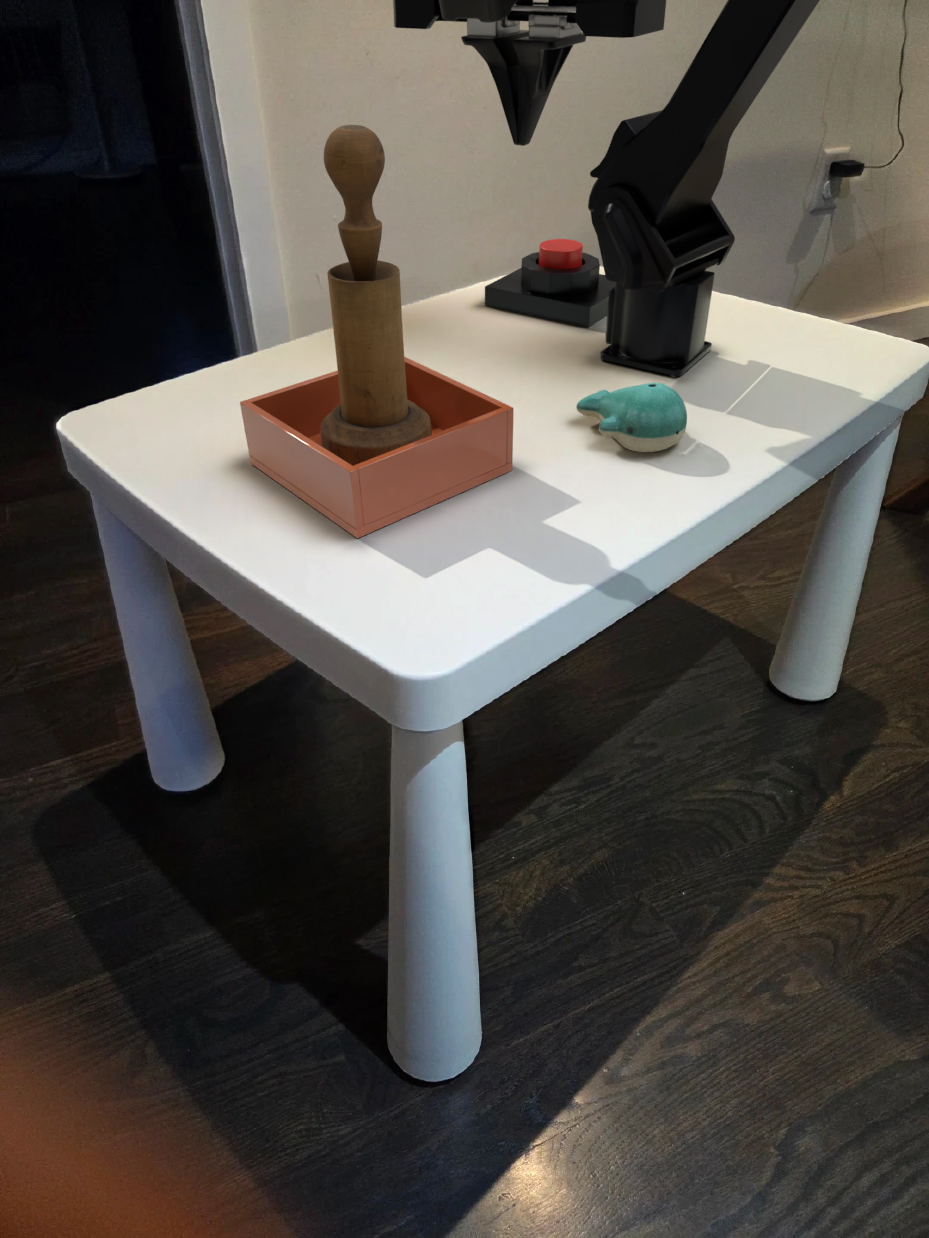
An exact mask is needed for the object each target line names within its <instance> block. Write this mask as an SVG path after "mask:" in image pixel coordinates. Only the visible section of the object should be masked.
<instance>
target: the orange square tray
mask: <svg viewBox="0 0 929 1238" xmlns="http://www.w3.org/2000/svg"><path fill="white" fill-rule="evenodd" d="M404 360H405V374H406V388H407V400H410V401H411V402H413V403H414V404H416V405H417V406H418V407H419V408H421V409H423V410H424V411H425V412H426V413H427V414H428V415H429V417H430V421H431V432H432V435H431V436H428V437H425V438H423V439H420V440H418V441H415V442H413V443H410V444H408V445H405V446H402V447H400V448H397V449H395V450H392V451H390V452H387V453H384V454H382V455H379V456H377V457H374V458H372V459H369V460H367V461H364V462H361V463H359V464H356V465H354V466H352V465H351V464H349V463H347V462H346V461H344V460H343V459H341V458H339V457H338V456H336V455H335V454H333V453H331V452H330V451H328V450H327V449H325V448H323V447H322V441H321V431H320V428H321V423H322V421H323V420H324V419H325V417H326V416H327V415H329V414H330V413H331V412H332V411H333V410H334V409H335V407H337V406H338V405H339V404H341V400H340V389H339V379H338V369H336V370H334V371H331V372H329V373H325V374H322V375H319V376H316V377H313V378H310V379H306V380H304V381H301V382H298V383H297V382H296V383H293V384H291V385H288V386H285V387H281V388H279V389H275V390H272V391H270V392H266V393H263V394H259V395H257V396H253V397H251V398H248V399H244V400H242V401H239V407H240V411H241V417H242V422H243V427H244V435H245V440H246V445H247V451H248V456H249V463H250V465H252V466H254V467H255V468H256V469H258V470H260V471H261V472H262V473H264V474H265V475H267V477H269V478H271V479H272V480H274V481H275V482H276V483H278V484H279V485H281V486H282V487H283V488H285V489H286V490H288V492H290V493H292V494H294V495H295V496H296V497H298V498H300V499H301V500H302V501H303V502H304V503H306V504H308V505H309V506H310V507H312V508H313V509H314V510H316V511H317V512H319V513H320V514H321V515H323V516H324V517H326V518H328V519H329V520H330V521H331V522H333V523H334V524H336V525H337V526H339V527H340V528H342V529H343V530H344V531H346V532H347V533H349V534H350V535H352V536H353V537H354V538H356V539H359V538H362V537H364V536H366V535H368V534H371V533H373V532H375V531H378V530H380V529H382V528H384V527H387V526H389V525H391V524H393V523H395V522H396V523H397V522H398V521H400V520H402V519H405V518H407V517H410V516H412V515H415V514H416V513H418V512H421V511H423V510H425V509H428V508H430V507H432V506H435V505H436V504H439V503H442V502H443V501H447V500H448V499H450V498H452V497H455V496H458V495H459V494H461V493H463V492H466V491H468V490H471V489H473V488H475V487H478V486H480V485H482V484H484V483H487V482H488V481H491V480H493V479H496V478H498V477H500V476H503V475H504V474H507V473H509V472H511V471H513V464H514V463H513V457H514V414H515V413H514V410H515V409H514V407H513V406H511V405H509V404H506V403H505V402H503V401H501V400H498V399H497V398H494V397H492V396H489V395H487V394H486V393H483V392H481V391H478V390H477V389H476V388H475V389H474V388H472V387H470V386H468V385H466V384H464V383H461V382H460V381H457V380H455V379H453V378H451V377H449V376H447V375H445V374H443V373H440V372H438V371H436V370H434V369H432V368H430V367H428V366H426V365H424V364H422V363H419V362H417V361H415V360H413V359H411V358H409V357H406V356H404Z"/></svg>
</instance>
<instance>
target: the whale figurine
mask: <svg viewBox="0 0 929 1238" xmlns="http://www.w3.org/2000/svg"><path fill="white" fill-rule="evenodd" d="M575 409H576V411H577V412H578V413H579V414H581V415H583V416H585V417H586V418H587V417H588V418H596V419H598V420H599V421H600V422H599V424H598V431H599V433H600V434H601V436H603V437H605V438H614V440H616V441H617V442H618V443H619V444H620V445H621V446H622V447H623V448H625V449H627V450H629V451H633V452H638V453H653V452H659V451H663V450H666V449H669V448H671V447H673V446H675V445H676V444H678V443H679V442H680V441H681V440H682V439H683V437H684V435H685V433H686V430H687V424H688V412H687V408H686V404H685V402H684V399H683V398H682V397H681V395H680V394H679V393H678V392H677V390H675V389H674V388H672V387H671V386H670V385H667V384H665V383H661V382H647V383H643V384H638V385H631V386H627V387H622V388H618V389H615V390H613V391H608V390H606V389H601V390H599V391H597V392H595V393H591V394H589V395H587V396H585V397H583V398H582V399H580V400H579V401H578V402H577V404H576V407H575Z"/></svg>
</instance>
